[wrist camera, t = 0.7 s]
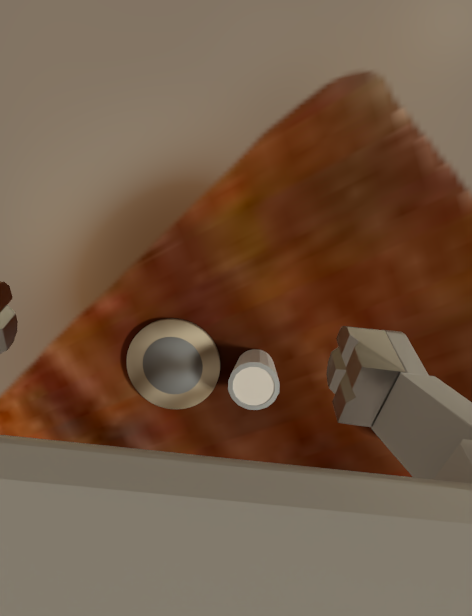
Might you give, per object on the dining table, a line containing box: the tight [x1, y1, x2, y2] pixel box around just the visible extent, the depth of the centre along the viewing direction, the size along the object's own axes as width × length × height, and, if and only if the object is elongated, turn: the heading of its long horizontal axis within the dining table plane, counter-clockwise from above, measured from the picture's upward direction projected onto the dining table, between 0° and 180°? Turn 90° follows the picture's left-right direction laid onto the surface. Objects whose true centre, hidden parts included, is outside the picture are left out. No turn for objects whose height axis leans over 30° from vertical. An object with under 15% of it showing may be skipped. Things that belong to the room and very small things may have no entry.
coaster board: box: [126, 318, 220, 409], centre depth 58 cm, size 14×14×1 cm
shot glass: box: [228, 349, 280, 410], centre depth 55 cm, size 7×7×7 cm
